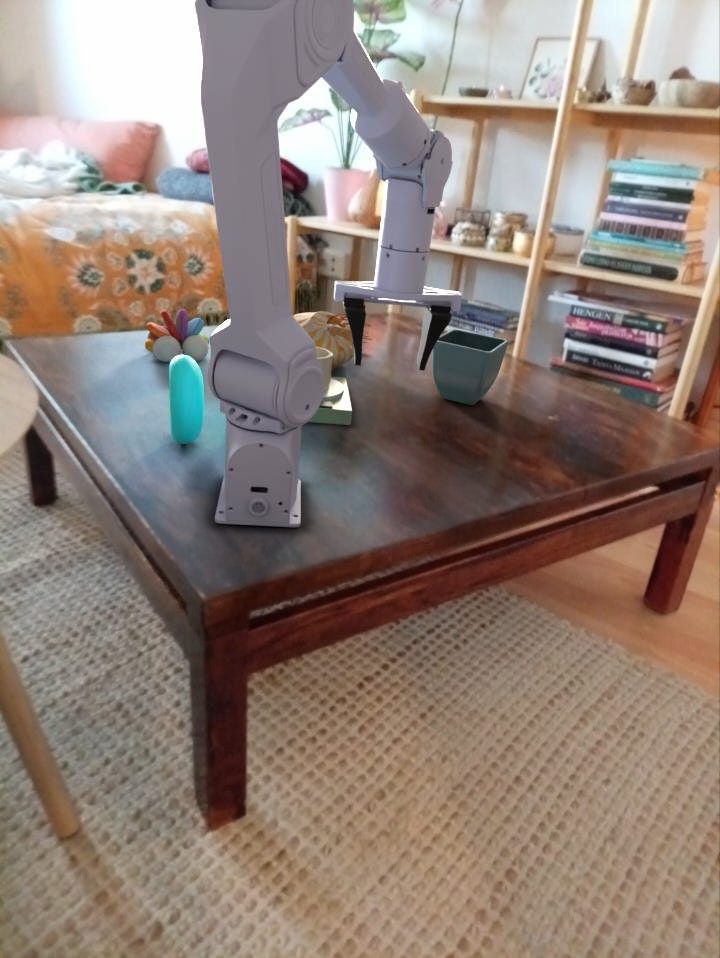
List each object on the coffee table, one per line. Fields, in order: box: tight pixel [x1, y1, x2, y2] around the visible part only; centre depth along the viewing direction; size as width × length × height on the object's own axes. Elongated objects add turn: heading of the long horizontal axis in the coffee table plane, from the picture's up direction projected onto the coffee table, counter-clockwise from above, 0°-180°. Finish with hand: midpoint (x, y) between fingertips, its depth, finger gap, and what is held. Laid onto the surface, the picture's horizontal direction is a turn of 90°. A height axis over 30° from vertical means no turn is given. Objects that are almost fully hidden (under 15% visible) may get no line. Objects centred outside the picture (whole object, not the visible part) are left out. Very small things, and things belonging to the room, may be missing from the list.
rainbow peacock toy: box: [144, 308, 210, 363], centre depth 107 cm, size 8×10×7 cm
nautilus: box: [293, 310, 372, 371], centre depth 113 cm, size 8×22×15 cm
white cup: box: [316, 347, 333, 391], centre depth 94 cm, size 6×6×5 cm
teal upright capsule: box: [168, 354, 205, 445], centre depth 80 cm, size 10×10×10 cm
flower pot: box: [431, 328, 509, 406], centre depth 103 cm, size 9×9×9 cm
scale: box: [307, 376, 353, 426], centre depth 96 cm, size 13×11×3 cm
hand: (389, 365), depth 84 cm, fingers open, 7 cm apart
